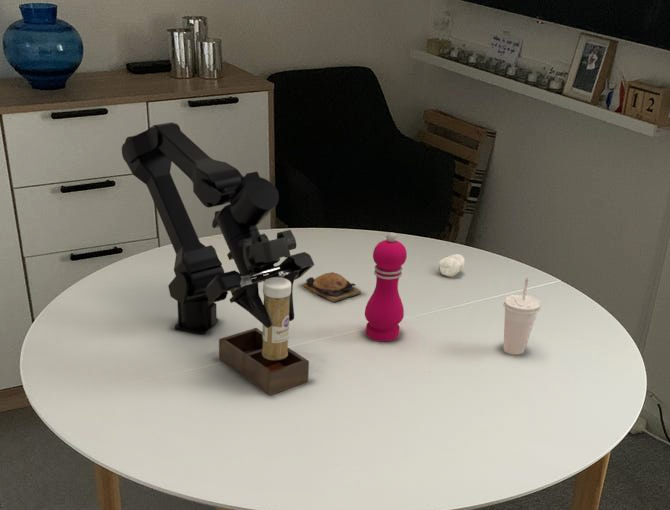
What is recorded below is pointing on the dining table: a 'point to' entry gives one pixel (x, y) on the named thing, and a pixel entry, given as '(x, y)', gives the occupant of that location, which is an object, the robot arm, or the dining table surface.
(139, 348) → the dining table surface
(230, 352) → the wooden divided tray
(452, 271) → the dumpling
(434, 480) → the dining table surface
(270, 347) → the sprinkles bottle
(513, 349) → the smoothie
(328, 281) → the burger on wooden board
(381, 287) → the pepper mill
